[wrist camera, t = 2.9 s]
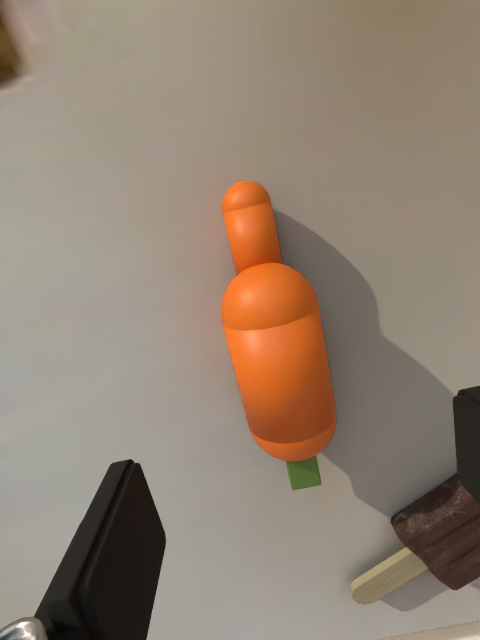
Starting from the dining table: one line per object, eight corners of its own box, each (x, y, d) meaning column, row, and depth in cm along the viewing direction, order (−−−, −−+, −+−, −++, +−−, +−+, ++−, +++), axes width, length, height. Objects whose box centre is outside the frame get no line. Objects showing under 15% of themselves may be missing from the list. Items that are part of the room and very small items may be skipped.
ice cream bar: (374, 604, 23) (590, 472, 20) (384, 634, 21) (620, 495, 18) (323, 560, 21) (545, 412, 19) (330, 588, 20) (574, 431, 17)
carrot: (195, 194, 15) (182, 189, 11) (287, 171, 15) (306, 159, 11) (260, 457, 19) (267, 519, 15) (333, 442, 19) (359, 502, 15)
